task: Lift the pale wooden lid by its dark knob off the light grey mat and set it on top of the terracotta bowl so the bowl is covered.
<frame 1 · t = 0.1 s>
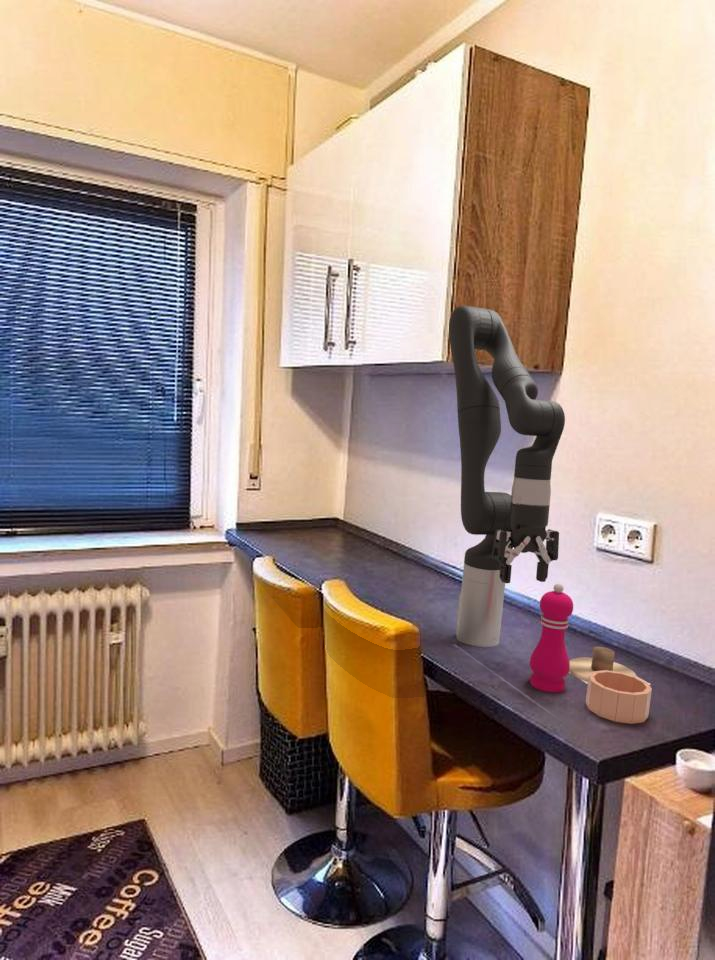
hand: (523, 581, 136), 17 cm above the table, tool pointing down, fingers open, 8 cm apart
bowl: (616, 712, 120), on the table
mat: (600, 675, 136), on the table
pepper mill: (546, 688, 128), on the table
lid: (601, 673, 136), resting on mat
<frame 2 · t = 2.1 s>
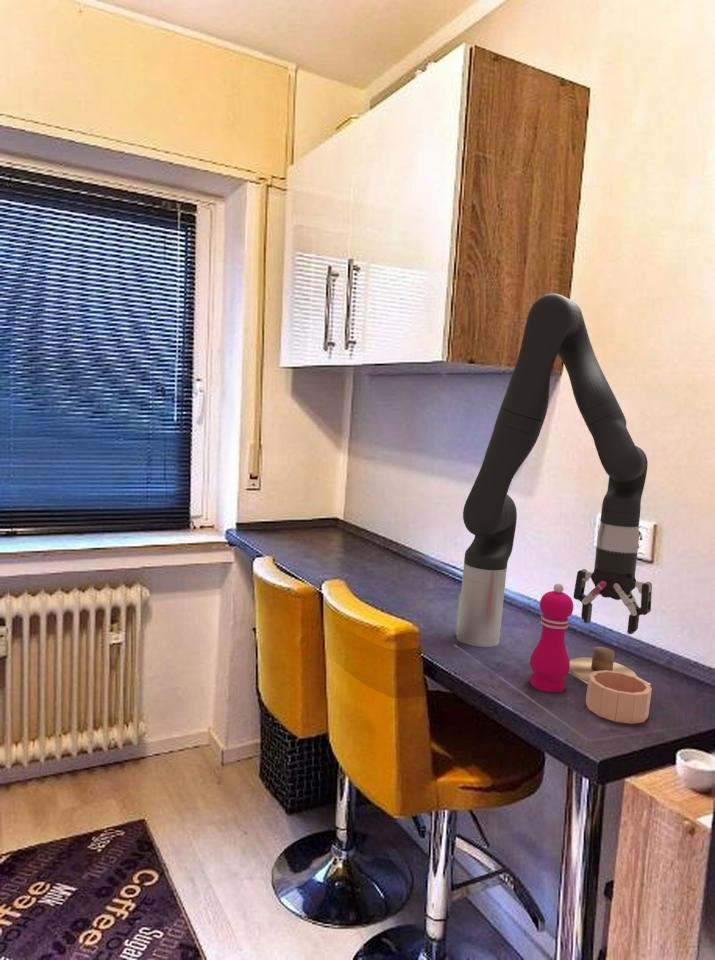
hand: (608, 627, 135), 10 cm above the table, tool pointing down, fingers open, 8 cm apart
nothing on the table moved.
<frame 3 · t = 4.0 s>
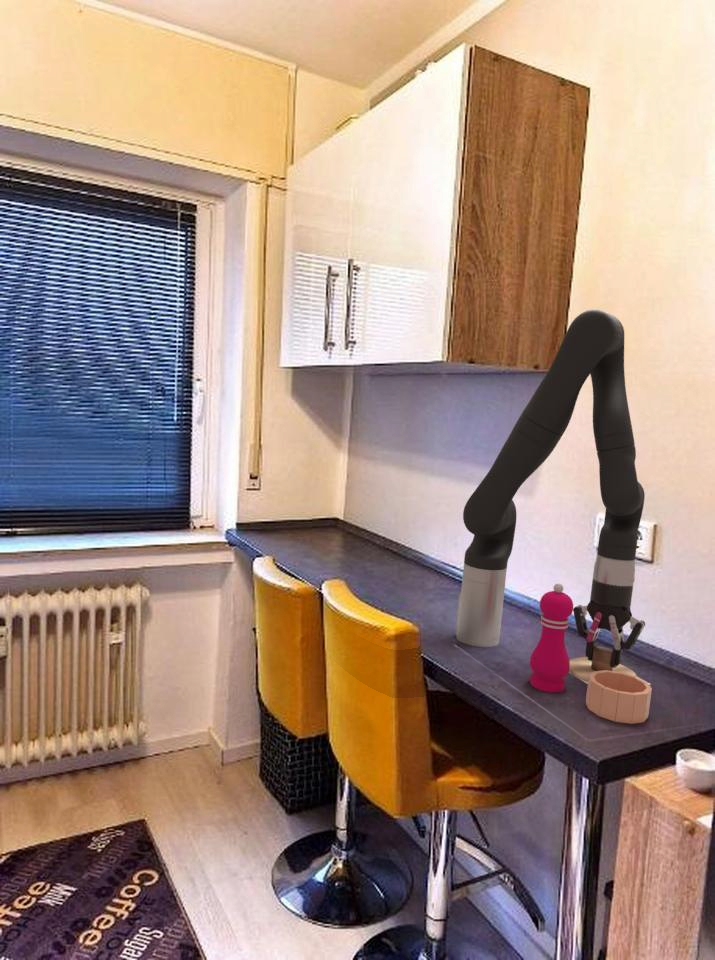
hand: (602, 662, 136), 3 cm above the table, tool pointing down, fingers closed on lid, 4 cm apart
lid: (601, 673, 136), resting on mat, touching gripper
everything else where it was.
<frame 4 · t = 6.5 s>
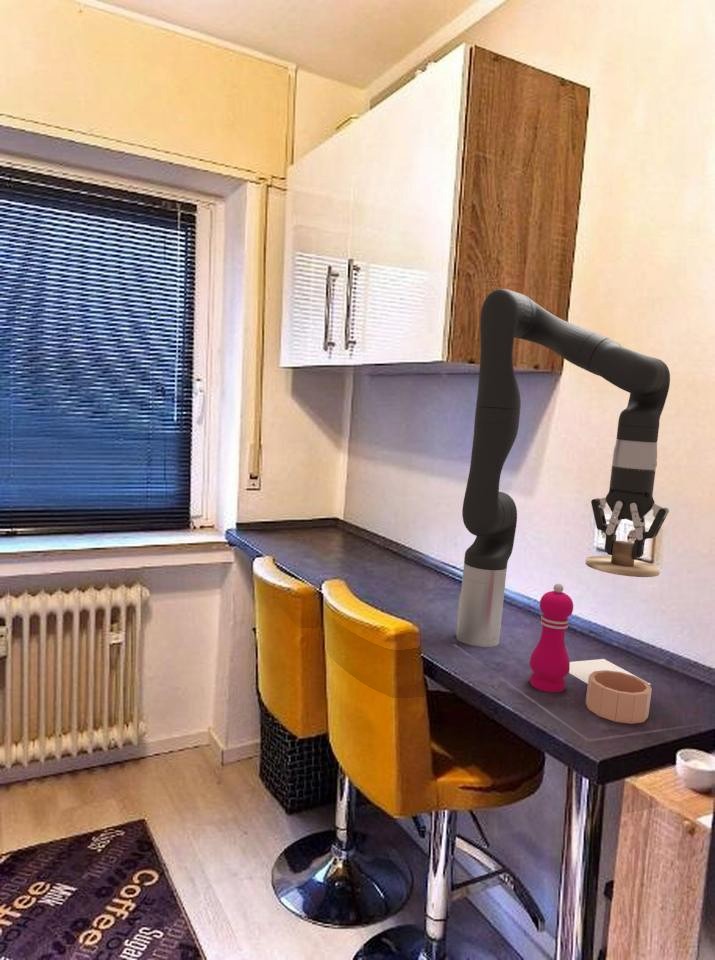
hand: (623, 556, 128), 26 cm above the table, tool pointing down, fingers closed on lid, 4 cm apart
lid: (621, 568, 128), point 23 cm above the table, touching gripper
everything else where it was.
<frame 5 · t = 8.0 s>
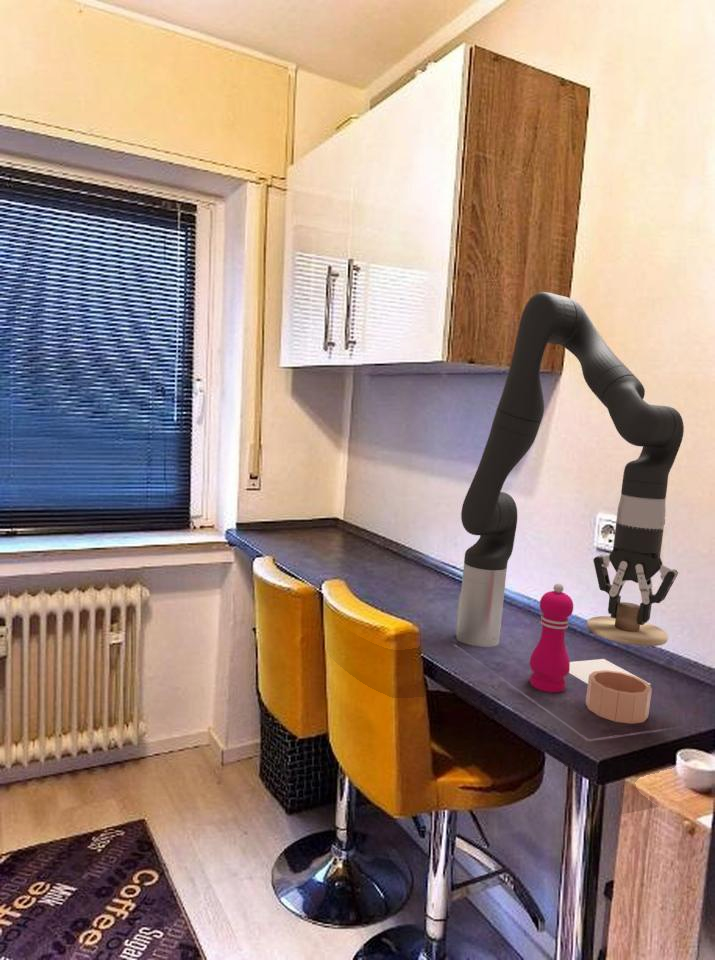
hand: (628, 620, 118), 17 cm above the table, tool pointing down, fingers closed on lid, 4 cm apart
lid: (626, 632, 118), point 14 cm above the table, touching gripper
everything else where it was.
when the fingers open (9 cm above the table, at t = 9.3 s): lid drops 1 cm, resting on bowl.
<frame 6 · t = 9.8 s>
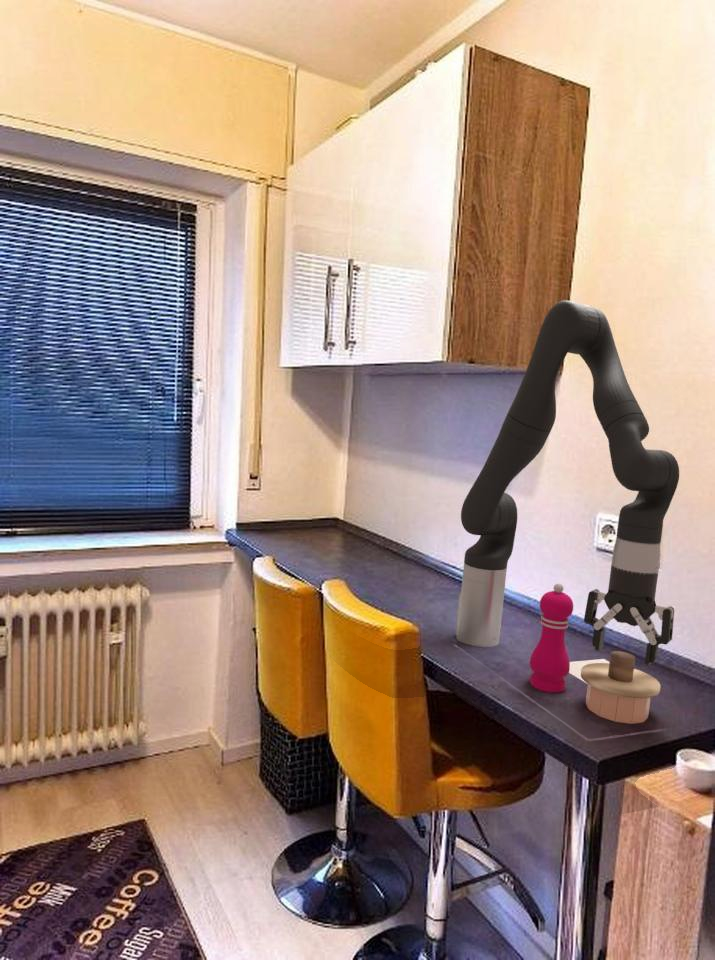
hand: (623, 656, 119), 10 cm above the table, tool pointing down, fingers open, 8 cm apart
lid: (619, 681, 119), point 5 cm above the table, touching bowl
everything else where it was.
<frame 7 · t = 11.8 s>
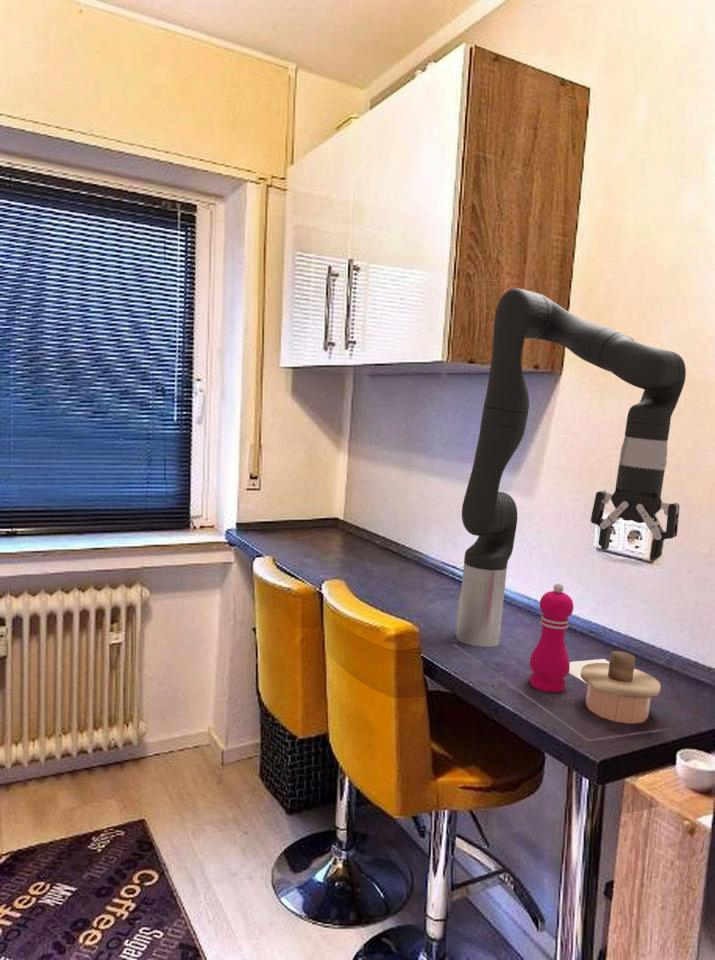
hand: (628, 554, 122), 27 cm above the table, tool pointing down, fingers open, 8 cm apart
nothing on the table moved.
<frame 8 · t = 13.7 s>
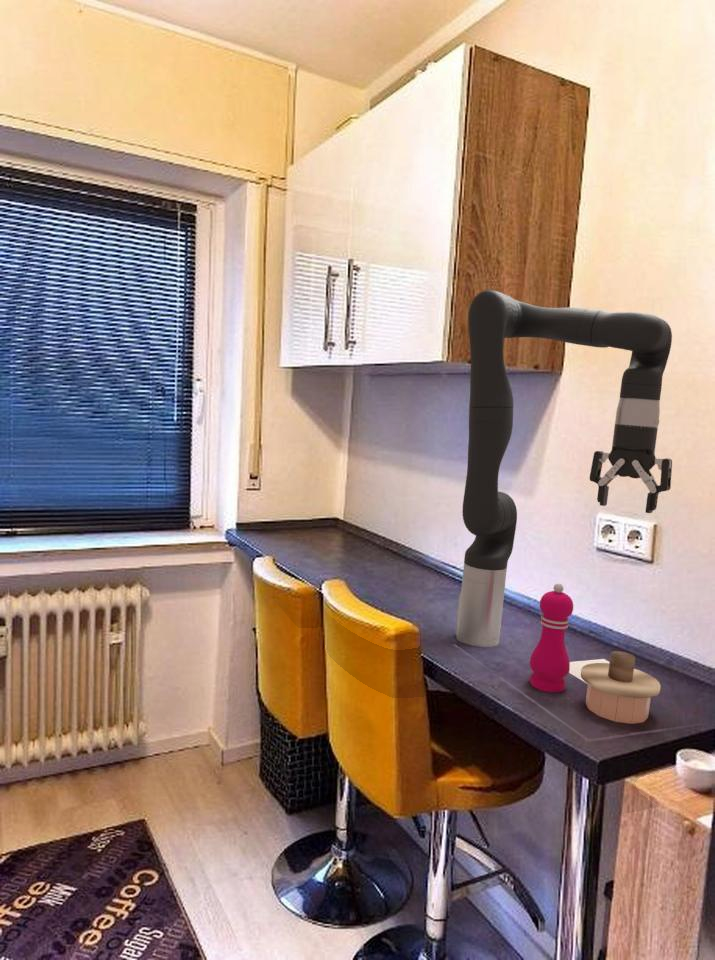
hand: (625, 509, 130), 34 cm above the table, tool pointing down, fingers open, 8 cm apart
nothing on the table moved.
at the end: lid 0.1 cm off-centre on the bowl, point 5.5 cm above the bowl's base; lid tilted 0°; the gripper is holding nothing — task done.
